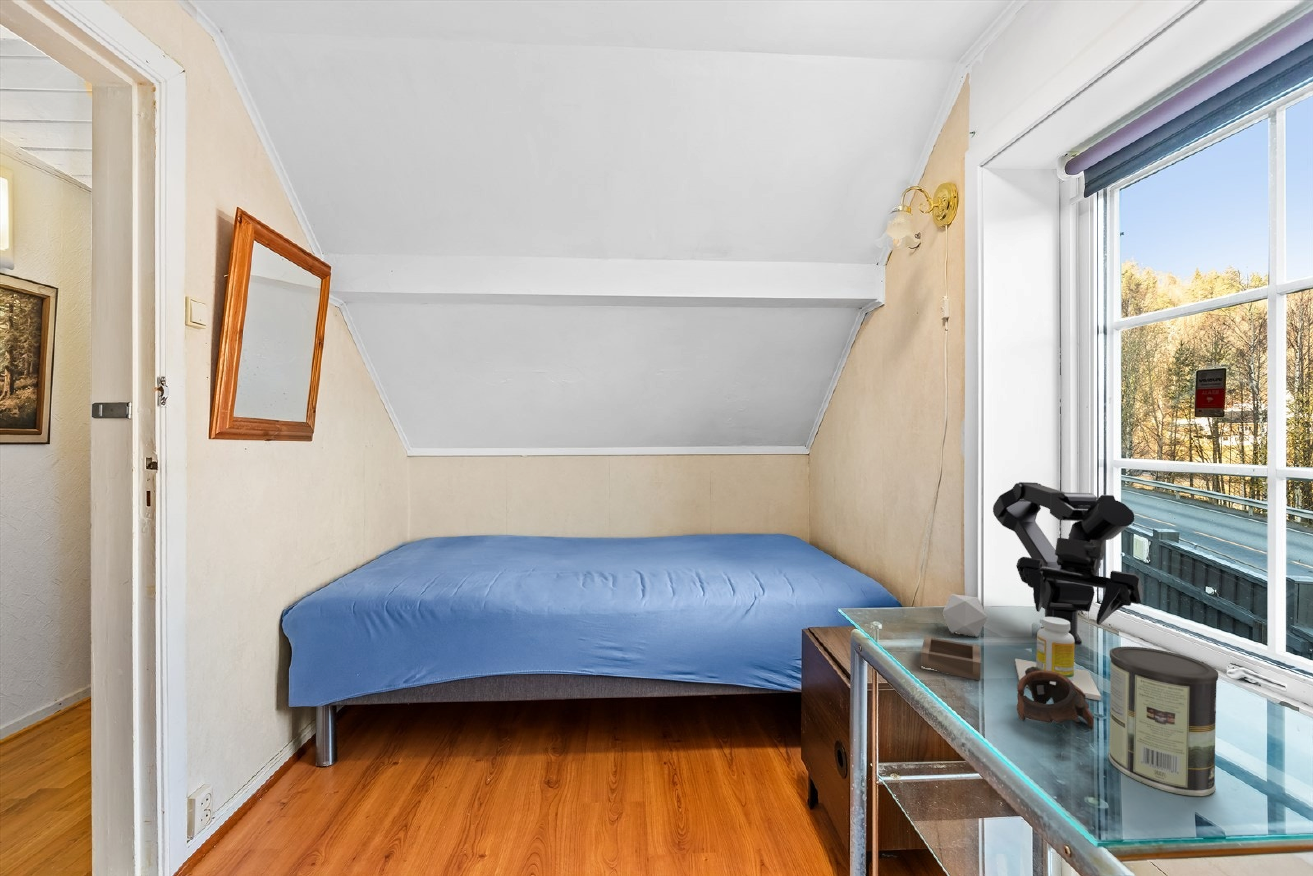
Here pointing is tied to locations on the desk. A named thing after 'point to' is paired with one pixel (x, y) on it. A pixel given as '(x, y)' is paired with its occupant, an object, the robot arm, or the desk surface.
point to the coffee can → (1163, 719)
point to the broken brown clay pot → (1063, 694)
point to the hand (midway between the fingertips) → (1066, 616)
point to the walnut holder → (951, 657)
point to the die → (964, 615)
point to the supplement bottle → (1055, 647)
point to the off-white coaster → (1080, 680)
